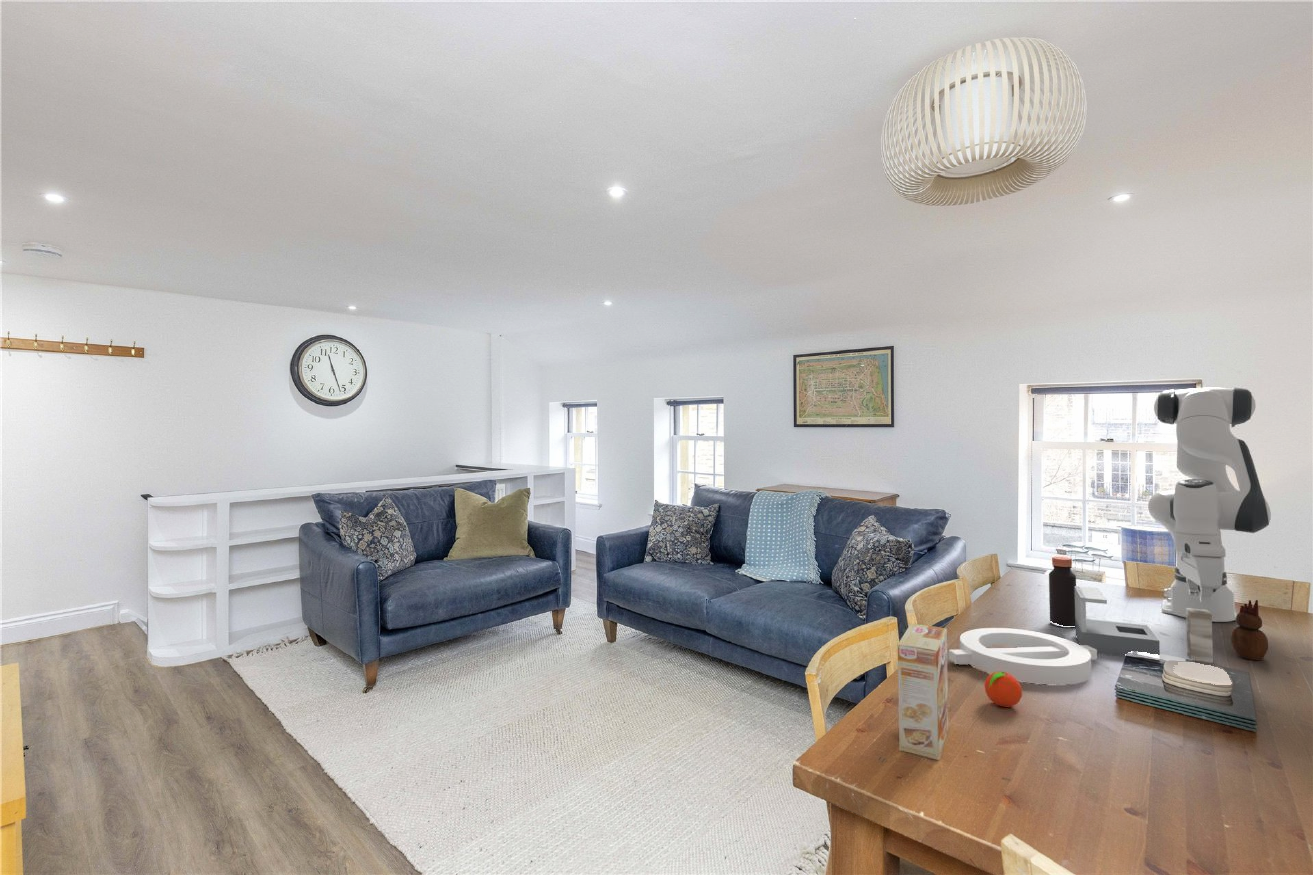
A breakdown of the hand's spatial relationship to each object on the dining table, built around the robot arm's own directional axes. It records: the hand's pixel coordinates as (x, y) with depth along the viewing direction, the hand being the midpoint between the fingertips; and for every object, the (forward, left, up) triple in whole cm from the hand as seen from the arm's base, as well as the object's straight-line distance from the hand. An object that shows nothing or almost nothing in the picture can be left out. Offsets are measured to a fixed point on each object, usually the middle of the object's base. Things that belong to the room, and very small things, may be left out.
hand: (1199, 599), depth 152 cm
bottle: (-18, -27, -15) cm, 36 cm away
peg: (0, 0, -15) cm, 15 cm away
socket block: (-1, -17, -15) cm, 23 cm away
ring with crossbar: (+22, -39, -16) cm, 47 cm away
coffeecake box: (+74, -57, -15) cm, 94 cm away
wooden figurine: (-6, +11, -15) cm, 20 cm away
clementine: (+52, -44, -15) cm, 70 cm away
